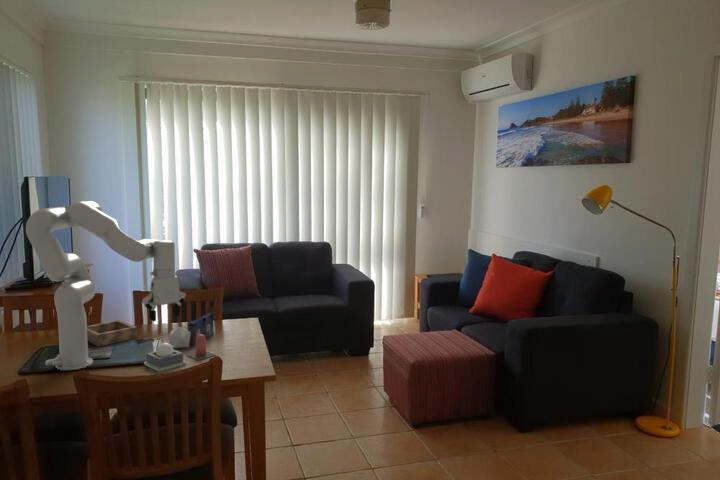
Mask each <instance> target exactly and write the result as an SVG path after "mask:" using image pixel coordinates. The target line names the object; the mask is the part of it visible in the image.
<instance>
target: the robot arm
mask: <svg viewBox="0 0 720 480" xmlns="http://www.w3.org/2000/svg"><path fill="white" fill-rule="evenodd" d="M74 227H80V228H82V229H83V230H86V231H87V232H89V233H91V234H93V235H94V236H96V237H98V238H100V239H101V240H102V241H103V242H104V243H105V245H107V246H108V247H109V248H110V249H111V250H113V252H115V253H117V254H118V255H120V256H122V257H124V258H125V259H127V260H130V261H131V262H135V263H138V262H139V263H140V262H144V261H145V260H148V259H153V269H152V271H150V275H151V276H153V277H152V278H151V282H150V287H149V288H150V289H149V294H148V295H146V296H145V297H144V298H142V299H141V301H142V303H143V305H144V307H145V308H146V309H147V310H148V317H149V320H150V321H152V322H156V321H157V311H156V308H157V307H158V306H163V305H168V304H169V305H170V304H173V306H172V307H173V308H172V309H173V310H172V312H173V317H174V316H175V317H180V314H181V313H180V312H181V306H182V304H183V303H184V301H185V298H186V296H187V295H186V294H187V293H186V292H183V291H181V290H180V283H179V279H178V276H177V275H176V252H175V251H176V247H175V242H174V240H169V239H161V240H158V239H151V238H142V239H138V240H137V239H135V238H133V237H131V236H130V235H128V234H126V232H123V231H122V230H121V228H120V227H119V223H118V220H117V219H115V218H113V217H112V216H110V215H107V214H106V213H104V212H103V210H102V207H101V206H100V204H98V203H97V202H94V201H93V200H83V201H77V202H74V203H72V204H69V205H62V206H56V207H55V206H54V207H46V208H45V207H44V208H40V209H38V210H36V211H34V212H33V213H31V215H29V218H28V219H27V221H26V223H25V233H26V236H27V238H28V241H29V242H30V244H31V247H32V248H33V249H34V251H35V254H36V256H37V258H38V260H39V262H40V264H41V267H42V269H43V271H44V273H45V275H46V277H48V279H49V280H50V281H52V282H62V281H64V282H65V283H64V284H62V285H60V286H59V287H58V288H57V289H56V291H55V293H54V295H53V296H54V297H53V298H54V300H53V301H54V305H55V309H56V314H57V328H58V343H59V344H58V345H59V347H58V348H59V353H58V354H57V355H56V357H54V358H52V359H51V358H50V359H46V360H44V361H45V366H51V365H52V366H55V369H56V368H57V370H59V369H60V370H59V371H74V370H75V371H77V370H81V368H82V369H85V368H88V367H89V366H91V365H93V364H94V360H93V358H91V357H90V356H89V343H88V342H89V341H88V339H87V326H88V323H87V321H88V319H87V314H86V310H85V307H84V304H86V303H88V302H89V301H91V300H92V299H93V298H95V294H96V286H95V282H94V280H93V279H92V276H91V275H90V273H89V271H88V269H87V266H86V264H85V262H84V261H83V260H82V258H81V257H80V256H79V255H77V254H75V253H72V252H65V251H64V249H63V246H62V244H61V243H60V241H59V239H57V237H56V236H55V235H54V233H53V232H54V231H58V230H65V229H68V228H74ZM149 301H150V303H149ZM87 366H88V367H87Z"/></svg>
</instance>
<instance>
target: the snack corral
mask: <svg viewBox="0 0 720 480" xmlns="http://www.w3.org/2000/svg"><path fill="white" fill-rule="evenodd" d="M137 338H138V327H137V326H135V325H132V324H130V323H129V322H125V321H122V320H120V319H117V320H114V321H107V322H102V323H101V322H100V323H96V324H92V325H87V339H88V342H89V343H90V344H92V345H95V346H97V347H102V346H106V345H110V344H115V343H119V342H125V341H129V340H133V339H137Z"/></svg>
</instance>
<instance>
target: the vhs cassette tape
mask: <svg viewBox="0 0 720 480" xmlns="http://www.w3.org/2000/svg"><path fill="white" fill-rule="evenodd" d="M214 326H215V325H214V313H211V312H210V313H206V314H204V315H202V316H200V317H198V318H195V319H194V320H192V321H190V322H188V323H187V330H188V331H189V332H191V336H190V341H189V345H188V346H189V347H196V338H197V336H198V335H200V334H203V335H204V336H205V337H206V340H208V339H209V338H211V337H213V336H214V335H215V332H214V328H215V327H214Z"/></svg>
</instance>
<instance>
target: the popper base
mask: <svg viewBox="0 0 720 480" xmlns="http://www.w3.org/2000/svg"><path fill="white" fill-rule="evenodd" d="M172 349H173V348H172ZM156 351H157V350H155V351H151V352H147V353H146V361H144V362H143V365H144V366H145V367H146V366H147V367H148V368H150V369H152V370H154V371H156V372H160V373H161V372H163V371H167V370H170V369H174V368H177V367H181V366H184V365H187V361H185V360H184V353H183V352H182V351H179V350H176V349H173V355H169V356H165V357H159V356H157V355H156Z"/></svg>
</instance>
